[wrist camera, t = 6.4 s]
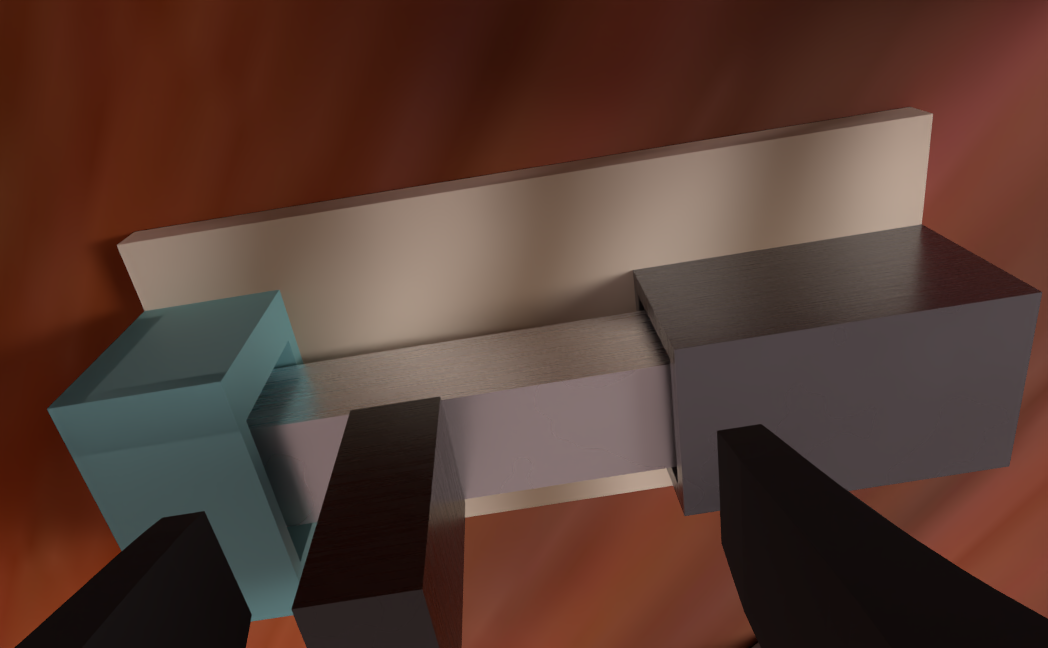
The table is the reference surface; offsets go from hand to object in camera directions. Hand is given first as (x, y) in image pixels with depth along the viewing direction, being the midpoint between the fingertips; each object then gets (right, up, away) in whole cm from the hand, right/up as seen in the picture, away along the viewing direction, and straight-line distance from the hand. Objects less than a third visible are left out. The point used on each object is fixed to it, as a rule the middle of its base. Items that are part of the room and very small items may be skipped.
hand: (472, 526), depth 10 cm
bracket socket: (-7, +1, +10) cm, 13 cm away
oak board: (+1, +2, +10) cm, 11 cm away
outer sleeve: (+7, +3, +10) cm, 13 cm away
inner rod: (-1, +1, +9) cm, 9 cm away
